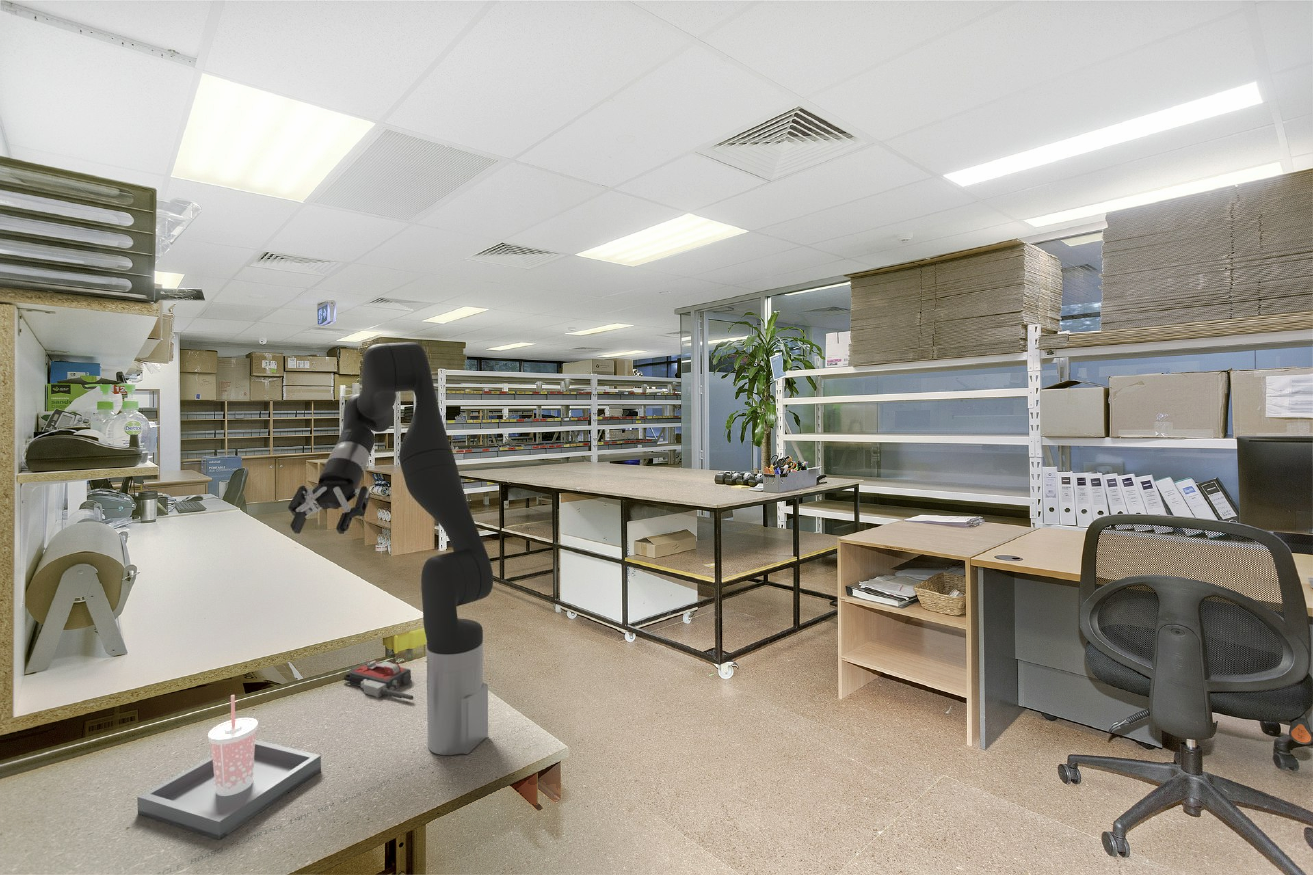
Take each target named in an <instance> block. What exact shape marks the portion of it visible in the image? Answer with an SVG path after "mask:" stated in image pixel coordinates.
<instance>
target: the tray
mask: <svg viewBox="0 0 1313 875" xmlns="http://www.w3.org/2000/svg"><path fill="white" fill-rule="evenodd" d="M321 771H322V755H321V754H319V753H312V752H310V751H305V750H300V749H297V748H292V747H288V746H284V745H280V744H276V743H271V742H268V741H263V740H258V739H255V751H254V770H253V783H252V784H251V786H250V787H248V788H247V789H245V790H244V791H241V792H239V793H237V794H233V795H229V796H220V795H218V794H216V788H215V778H214V769H213V759H212V755H211V756H210V757H208V758H205V759H204V760H203V761H201V762H199V763H197V764H195V765H193V766H192V767H190V768H188V769H186V770H184V771H182V772H180V773H179V774H176V775H175V776H173V777H171V778H169V779H168V780H165V781H163V782H162V783H159V784H158V785H156V786H155V787H153V788H151V789H150V790H147V791H145V792H144V793H141V794H139V795H138V796H137V799H136V800H137V801H136V802H137V814H138V815H140V816H144V817H147V818H150V819H153V820H156V821H158V822H159V821H160V822H161V823H166V824H169V825H172V826H175V827H178V828H181V829H184V830H188V831H190V832H193V833H197V834H200V835H203V836H206V837H210V838H212V839H215V840H218V841H220V840H222V839H223V838H225V837H226V836H228V835H229V834H230V833H232V832H234V831H235V830H236V829H238V828H239V827H240V826H242V825H244V824H246V823H247V822H248V821H249V820H251V819H252V818H254V817H255V816H257V815H258V814H260V813H261V812H263V811H264V810H266V808H269V807H270V806H271V805H273V804H274V803H275V802H277V801H279V800H280V799H282V798H283V797H285V796H286V795H287V794H289V793H291V792H292V791H293V790H295V789H297V788H298V787H299V786H301V785H302V784H303V782H304V783H305V782H307V781H308V780H309V779H311V778H312V777H313V776H316V774H318V773H320V772H321ZM300 784H301V785H300ZM297 786H298V787H297ZM294 788H295V789H294ZM291 790H292V791H291ZM288 792H289V793H288Z"/></svg>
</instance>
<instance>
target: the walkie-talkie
mask: <svg viewBox="0 0 1313 875" xmlns="http://www.w3.org/2000/svg"><path fill="white" fill-rule="evenodd" d="M369 663H370V664H369ZM365 664H367V665H365ZM360 665H364V666H360ZM354 667H355V668H354ZM354 667H352V668H351V669H350V670H349V673H347V674H345V675H344V676H343V680H344V681H346V682H349V684H350V685H353V686H357V687H360V688H362V690H363V693H364V694H366V695H370V696H373V697H375V698H380V697H382V696H389V697H394V698H397V699H406V700H409V701H410V700H411V701H413V700H414V696H413V695H411V694H407V693H403V692H400V691H396V690H397V689H399V688H400V687H402V686H405V685H408V684H409V683H410V682H411V680H412V673H411V672H412V671H411V669H410V668H407V667H403V666H402V667H401V666H400V665H399V664H398V663H394V662H393V663H392V662H390V661H387V660H385V661H383V662H379V661H376V660H366V661H364V662H362V663H360V664H358V665H356V666H354Z"/></svg>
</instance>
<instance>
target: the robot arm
mask: <svg viewBox="0 0 1313 875" xmlns="http://www.w3.org/2000/svg"><path fill="white" fill-rule="evenodd" d="M429 362H430V361H429V358H428V356H427V354H426V350H425V349H424V347H423V346H422V345H421V344H420V343H418V342H411V341H410V342H408V341H406V342H391V343H389V342H388V343H378V344H373V345H372V344H371V346H369V347H367V349H366V350H365V352H364V356H363V358H362V371H361V372H362V373H361V374H362V375H361V391H360V393H356V394H353V395H351V396H350V397H348V399H347V400H346V402H345V404H344V407H343V421H342V422H343V423H342V424H343V426H342V429H341V434H340V435H339V438H338V439H337V442H336V444H335V446H334V448H333V450H332V451H331V452H330V454H329V456H328V458H327V460H326V463H325V465H324V466H323V469H322V471H321V474H320V475H319V478H318V481H317V482H318V483H317V485H316V486H315V487H314V488H307V487H306V486H305V485H300V486H299V487H298V489H297V491H296V492H295V494H294V496H293V497H292V499H291V501H290V502H289V505H288V507H287V508H288V511H289V512H290V513H291V514H292V516H293V519H292V520H291V523H290V528H291V531H293V533H294V534H297V535H298V534H299V535H300V534H301V532H302V530H303V528H304V525H305V523H306V521H307V517H309V516H310V515H312V514H315V513H316V514H317V513H318V512H319V511H320V510H328V509H333V510H339V509H340V508H342V509H343V511H344V512H342V513H341V515H340V518H339V520H338V522H337V525H336V528H335V529H336V531H337V533H338V534H339V535H344V534H345V532H347V531H348V530H349V528H350V526H351V523H352V520H353V519H354V518H355V517H363V516H365V514H366V511H367V508H368V504H369V501H370V498H371V495H372V494H371V492H370V491H369V489H368V487H367V486H366V485H363V486H361V487H360V488H359V485H360V483H361V481H362V479H363V476H364V474H365V471H366V469H367V466H368V464H369V459H370V455H371V453H372V451H373V448H374V445H375V442H376V436H375V433H384V432H385V431H387V430H389V428H390V427H391V425H392V424H393V421H394V417H395V410H394V405H395V402H396V401H397V393H398V392H407V391H413V393H414V396H415V409H414V412H413V415H412V418H411V421H410V424H409V426H408V428H407V431H406V433H405V435H404V437H403V440H402V442H401V445H400V449H399V454H398V458H399V459H398V460H399V463H400V464H399V465H400V467H401V471H402V475H403V479H404V482H405V486H406V489H407V491H408V494H410V496H411V497H412V498H413V499H414V500H415V502H417V504H418V505H420V507H421V508H423V509H424V511H426V512H427V513H428V514H429V515H430V516H431V517H432V518H433V519H434V520H435V521H436V522H437V523H438V524H439V525H440V527H441V528H442V529H443V530H444V533H445V534H446V536H447V538H448V540H449V543H450V545H451V547H452V548H451V549H452V551H451V552H447V553H442V554H437V555H434V556H431V557H429V558H428V559H427V560H426V561H425V562H424V563H423V566H422V571H421V580H420V587H421V588H420V589H421V601H422V604H421V605H422V617H423V618H422V620H423V621H422V622H423V629H424V633H425V638H426V711H427V712H426V719H427V720H426V721H427V723H426V724H427V725H426V726H427V729H426V730H427V748H428V749H429V751H430V752H432V753H433V754H436V755H441V756H453V755H460V754H464V755H468V754H470V753H471V752H472V751H473V750H474V749H475V748H476V747H478V746H479V745H480V744H481V743H482V742H483V741H484V740H485V739H486V738H488V736H489V686H488V683H485V682H484V630H483V627H482V624H481V623H480V622H478V621H475V620H472V619H468V618H467V619H466V618H460V617H459V618H458V611H457V610H458V608H457V607H461V606H463V605H467V604H470V603H474V602H476V601H480V600H483V599H485V598H487V597H488V596H490V594H491V593H492V590H493V587H494V572H493V567H492V564H491V561H490V558H489V554H488V552H487V549H486V546H485V544H484V542H483V540H482V537H481V535H480V533H479V530H478V528H477V525H476V523H475V520H474V517H473V515H472V512H471V509H470V506H469V504H468V501H467V497H466V494H465V491H464V487H463V484H462V481H461V477H460V473H459V469H458V466H457V465H458V464H457V462H456V459H455V455H454V451H453V449H452V446H451V442H450V441H449V438H448V434H447V431H446V428H445V424H444V421H443V418H442V415H441V412H440V407H439V402H438V399H437V394H436V389H435V384H434V380H433V376H432V371H431V367H430V363H429ZM374 432H375V433H374ZM356 497H357V499H356V502H355V504H354V505H355V506H354V507H351V505H350V504H349V502H350V501H351V500H353V499H354V498H356ZM315 502H316V505H315V504H314V503H315Z"/></svg>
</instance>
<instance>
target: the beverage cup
mask: <svg viewBox="0 0 1313 875" xmlns="http://www.w3.org/2000/svg"><path fill="white" fill-rule="evenodd" d="M235 699H236V696H235V694H231V695H230V711H231V712H230V716H231V717H230V718H231V719H230V720H227V721H225V722H222V723H219V724H218V725H216V726H214V727H213V728H211V729H210V731H209V732H208V734H207V737H208V743H210V748H211V756H212V759H213V769H214V778H215V788H216V794H218V795H220V796H229V795H233V794H237V793H239V792H241V791H244V790H245V789H247V788H248V787H250V786H251V784H252V783H253V770H254V751H255V740H256V732H257V730H258V727H259V726H258V720H257V719H256V718H253V717H239V718H236V700H235Z"/></svg>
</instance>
